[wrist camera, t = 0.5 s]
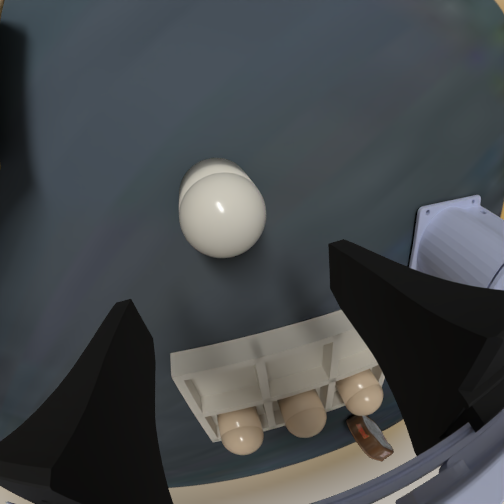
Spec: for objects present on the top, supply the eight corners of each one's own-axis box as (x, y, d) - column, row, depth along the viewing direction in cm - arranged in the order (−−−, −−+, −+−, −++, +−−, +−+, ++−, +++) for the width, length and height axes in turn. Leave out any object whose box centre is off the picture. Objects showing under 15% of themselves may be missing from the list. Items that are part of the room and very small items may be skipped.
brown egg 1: (252, 393, 28) (266, 440, 24) (257, 412, 31) (270, 454, 26) (211, 403, 28) (220, 450, 23) (220, 420, 30) (229, 463, 25)
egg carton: (391, 292, 26) (406, 308, 24) (371, 376, 34) (379, 390, 32) (170, 353, 24) (171, 376, 22) (209, 424, 31) (212, 442, 29)
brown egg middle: (314, 376, 29) (334, 419, 24) (313, 395, 32) (330, 435, 27) (274, 388, 29) (290, 433, 24) (277, 406, 31) (291, 448, 26)
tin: (340, 414, 38) (361, 459, 31) (358, 403, 38) (381, 448, 31) (365, 430, 46) (382, 464, 39) (379, 421, 46) (398, 455, 38)
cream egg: (244, 151, 17) (271, 176, 12) (254, 217, 19) (280, 263, 15) (172, 166, 17) (168, 198, 12) (187, 231, 19) (192, 284, 14)
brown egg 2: (369, 356, 30) (394, 394, 25) (364, 377, 32) (385, 412, 28) (334, 369, 30) (356, 410, 25) (332, 389, 32) (350, 427, 27)
